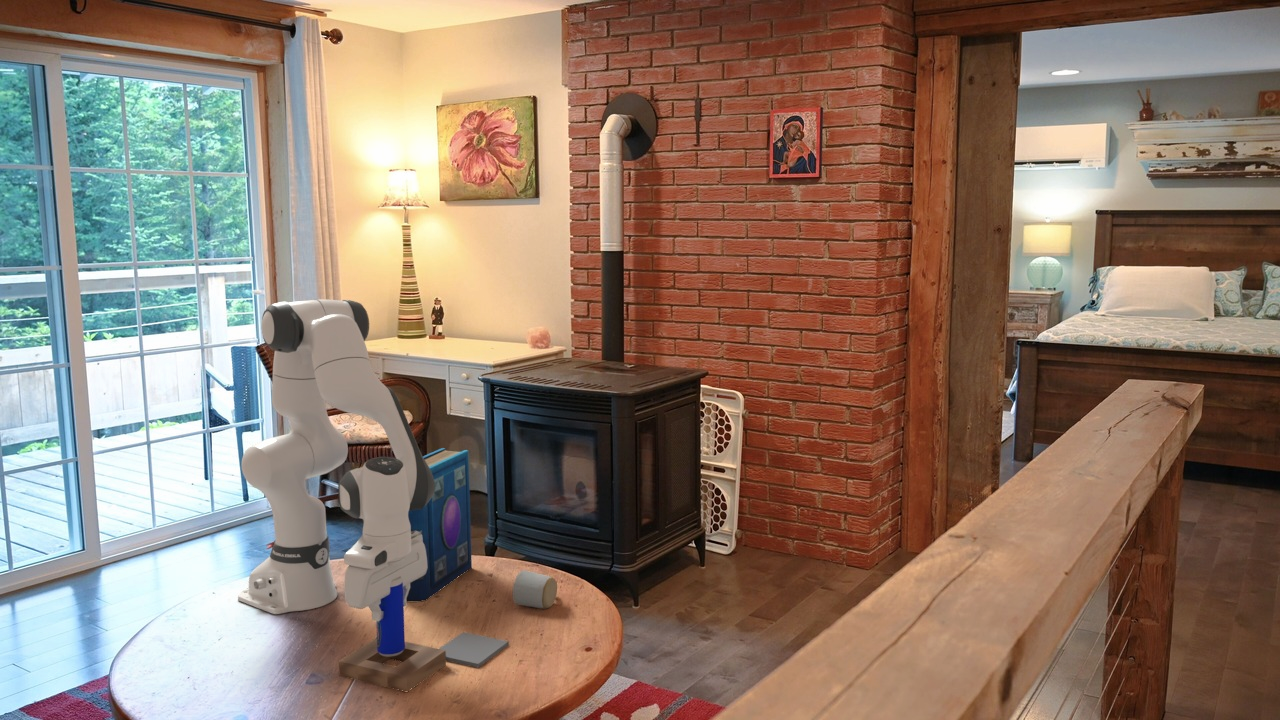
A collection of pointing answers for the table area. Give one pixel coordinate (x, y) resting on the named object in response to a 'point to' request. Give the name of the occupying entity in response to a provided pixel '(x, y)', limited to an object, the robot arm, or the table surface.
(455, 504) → the book
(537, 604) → the ceramic mug
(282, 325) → the robot arm
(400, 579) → the beverage can
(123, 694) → the table surface
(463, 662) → the rubber mat
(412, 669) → the walnut caddy
